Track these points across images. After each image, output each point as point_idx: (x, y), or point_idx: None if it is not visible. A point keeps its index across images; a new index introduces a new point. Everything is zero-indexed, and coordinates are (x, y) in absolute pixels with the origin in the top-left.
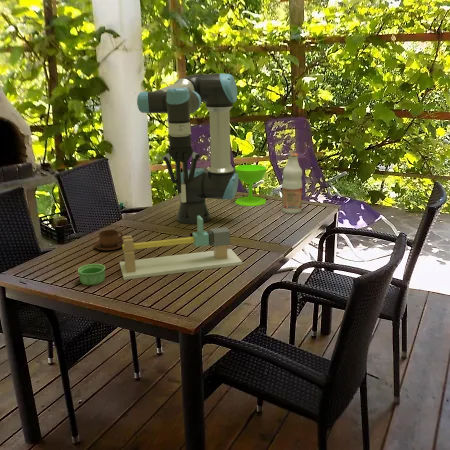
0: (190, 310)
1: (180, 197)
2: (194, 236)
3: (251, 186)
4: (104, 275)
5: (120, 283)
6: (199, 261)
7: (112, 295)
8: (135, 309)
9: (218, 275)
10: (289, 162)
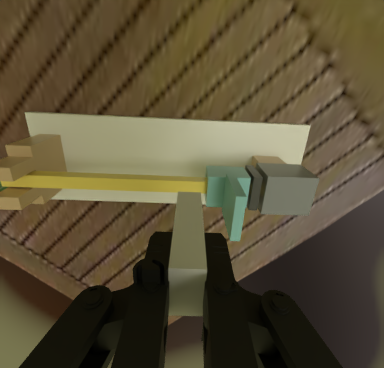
0: None
1: (176, 204)
2: (206, 198)
3: None
4: (2, 189)
5: (44, 208)
6: None
7: (36, 246)
8: (76, 291)
9: (224, 232)
10: None
